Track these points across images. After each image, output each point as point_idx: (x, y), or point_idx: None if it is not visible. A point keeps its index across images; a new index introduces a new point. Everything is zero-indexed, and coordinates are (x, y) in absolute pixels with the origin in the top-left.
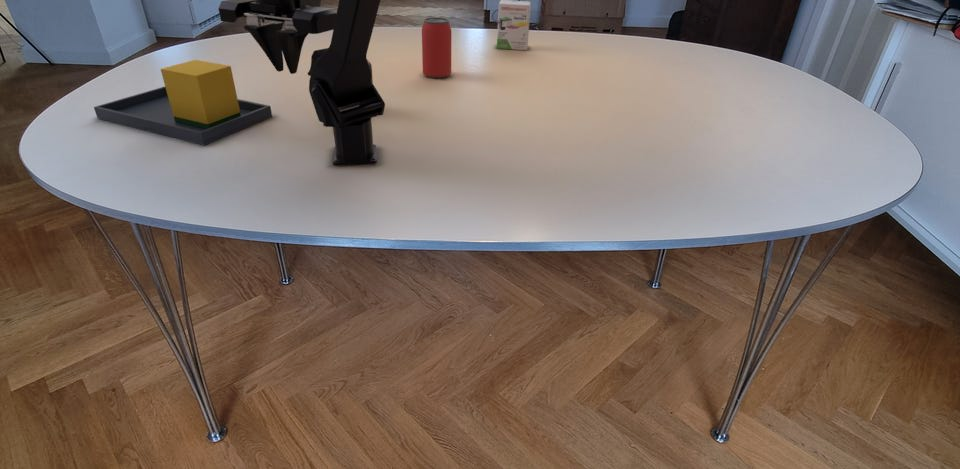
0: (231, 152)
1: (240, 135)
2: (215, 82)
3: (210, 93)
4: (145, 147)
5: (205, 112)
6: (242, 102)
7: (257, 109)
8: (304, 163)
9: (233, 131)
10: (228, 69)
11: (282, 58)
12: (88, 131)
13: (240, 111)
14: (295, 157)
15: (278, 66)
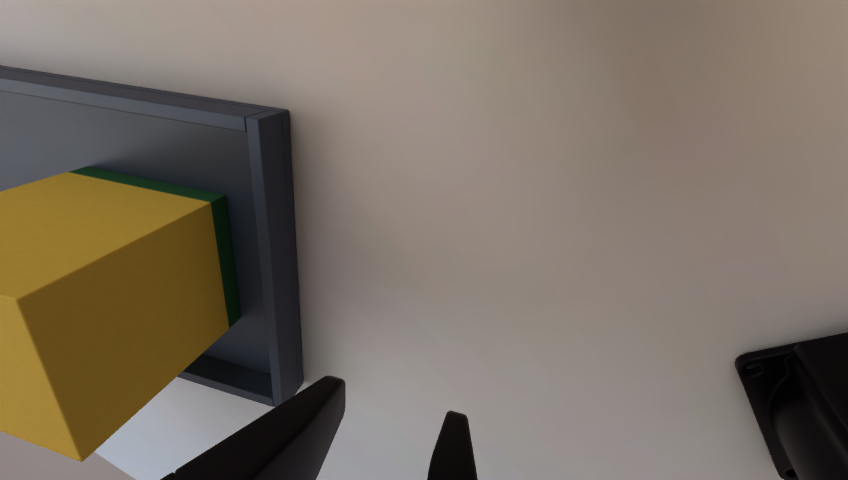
0: (399, 409)
1: (328, 302)
2: (107, 359)
3: (146, 361)
4: (207, 406)
5: (200, 353)
6: (133, 111)
7: (253, 183)
8: (657, 454)
9: (296, 296)
10: (39, 310)
11: (298, 437)
12: None
13: (169, 134)
14: (603, 420)
15: (329, 442)
